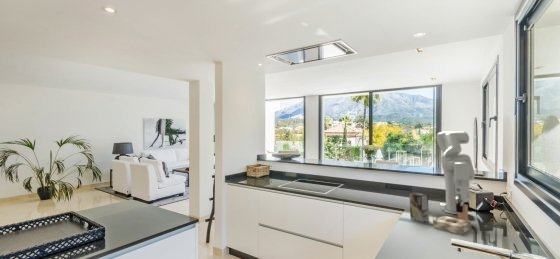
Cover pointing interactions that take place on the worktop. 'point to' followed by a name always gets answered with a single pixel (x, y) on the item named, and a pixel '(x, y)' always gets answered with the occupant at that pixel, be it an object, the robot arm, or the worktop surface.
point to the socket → (452, 224)
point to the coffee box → (419, 207)
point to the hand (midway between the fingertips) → (462, 210)
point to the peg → (465, 213)
